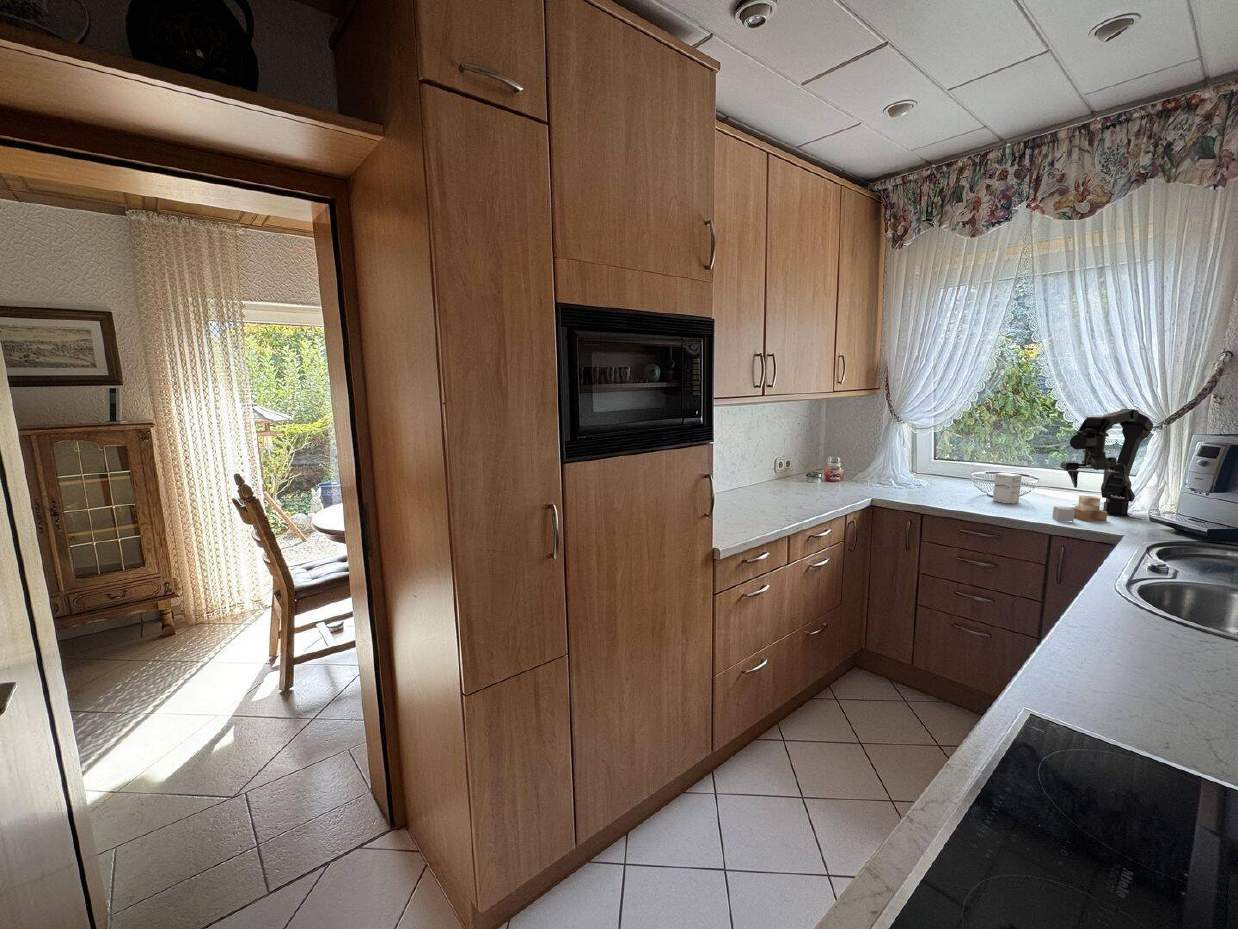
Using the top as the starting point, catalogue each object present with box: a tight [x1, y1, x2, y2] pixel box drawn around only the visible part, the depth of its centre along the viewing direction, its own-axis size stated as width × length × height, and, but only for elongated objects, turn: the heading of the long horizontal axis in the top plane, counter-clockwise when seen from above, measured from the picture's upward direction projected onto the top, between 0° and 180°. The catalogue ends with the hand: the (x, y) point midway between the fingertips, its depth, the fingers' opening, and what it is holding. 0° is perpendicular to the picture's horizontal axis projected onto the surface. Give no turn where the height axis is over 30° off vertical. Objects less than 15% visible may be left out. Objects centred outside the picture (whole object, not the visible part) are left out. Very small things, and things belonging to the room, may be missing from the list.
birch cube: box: [1077, 494, 1101, 511], centre depth 217 cm, size 5×5×5 cm
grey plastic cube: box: [1051, 505, 1075, 523], centre depth 215 cm, size 5×5×5 cm
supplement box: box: [992, 472, 1023, 504], centre depth 248 cm, size 7×7×13 cm
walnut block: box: [1069, 506, 1108, 522], centre depth 218 cm, size 8×8×4 cm
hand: (1089, 488), depth 217 cm, fingers open, 9 cm apart
